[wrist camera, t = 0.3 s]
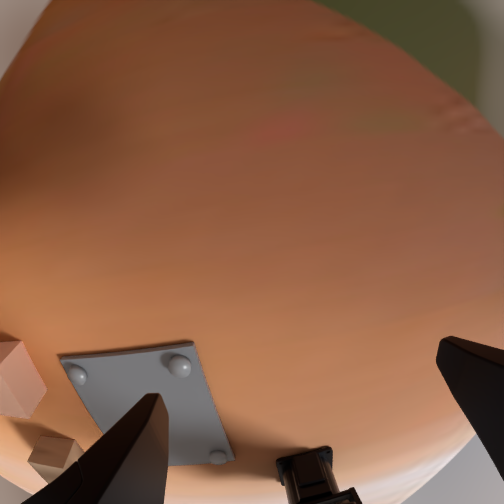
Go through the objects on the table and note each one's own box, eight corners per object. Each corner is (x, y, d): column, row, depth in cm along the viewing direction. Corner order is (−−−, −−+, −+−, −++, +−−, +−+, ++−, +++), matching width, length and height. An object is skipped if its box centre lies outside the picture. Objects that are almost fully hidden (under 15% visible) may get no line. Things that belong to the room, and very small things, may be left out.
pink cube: (48, 388, 24) (29, 419, 19) (13, 387, 24) (-6, 413, 19) (22, 339, 22) (-3, 367, 18) (-12, 342, 22) (-36, 366, 17)
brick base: (98, 467, 28) (89, 495, 23) (63, 463, 28) (53, 489, 23) (75, 438, 26) (63, 468, 21) (40, 435, 26) (27, 461, 21)
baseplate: (234, 456, 28) (235, 465, 27) (127, 461, 27) (125, 470, 26) (193, 341, 23) (192, 351, 22) (62, 356, 23) (56, 364, 22)
